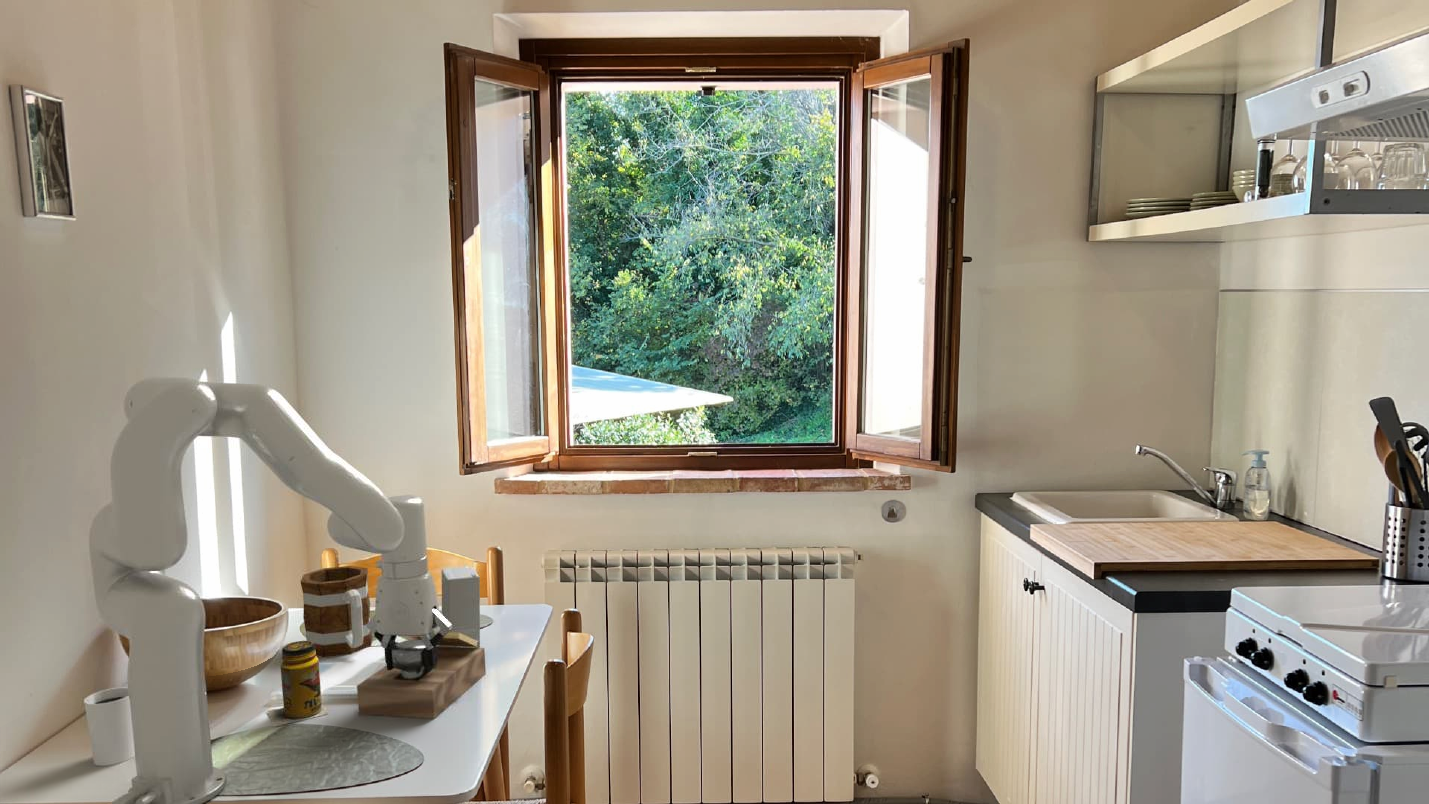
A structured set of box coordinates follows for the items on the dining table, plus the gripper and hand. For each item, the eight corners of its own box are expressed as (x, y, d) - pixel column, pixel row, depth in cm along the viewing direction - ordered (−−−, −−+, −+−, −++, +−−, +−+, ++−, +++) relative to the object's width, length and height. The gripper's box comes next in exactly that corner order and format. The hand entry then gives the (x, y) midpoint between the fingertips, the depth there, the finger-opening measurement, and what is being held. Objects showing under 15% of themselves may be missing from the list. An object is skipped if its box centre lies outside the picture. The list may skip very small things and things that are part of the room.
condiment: (328, 714, 167) (323, 646, 166) (274, 727, 162) (269, 657, 161) (319, 700, 173) (314, 635, 172) (267, 712, 169) (261, 645, 167)
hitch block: (434, 718, 164) (432, 690, 163) (358, 714, 167) (356, 686, 166) (485, 673, 183) (484, 648, 183) (417, 670, 186) (415, 644, 186)
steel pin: (421, 698, 167) (418, 653, 166) (387, 696, 168) (384, 651, 167) (438, 684, 173) (436, 640, 172) (405, 682, 175) (403, 639, 174)
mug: (296, 645, 203) (290, 574, 201) (361, 630, 211) (356, 562, 209) (326, 671, 187) (320, 595, 186) (395, 653, 196) (390, 580, 194)
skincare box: (441, 644, 200) (436, 568, 199) (476, 638, 203) (472, 563, 202) (448, 657, 193) (443, 578, 191) (484, 650, 196) (480, 573, 194)
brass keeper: (458, 638, 175) (459, 631, 175) (397, 636, 177) (398, 629, 178) (479, 647, 183) (480, 641, 183) (420, 645, 185) (421, 638, 186)
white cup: (119, 745, 158) (113, 685, 156) (149, 750, 155) (143, 690, 154) (79, 763, 151) (73, 701, 150) (110, 769, 149) (103, 706, 148)
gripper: (347, 572, 167) (355, 674, 168) (441, 575, 163) (447, 679, 165) (371, 561, 174) (378, 658, 176) (461, 563, 170) (467, 662, 172)
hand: (411, 667), depth 170 cm, fingers closed on steel pin, 6 cm apart
